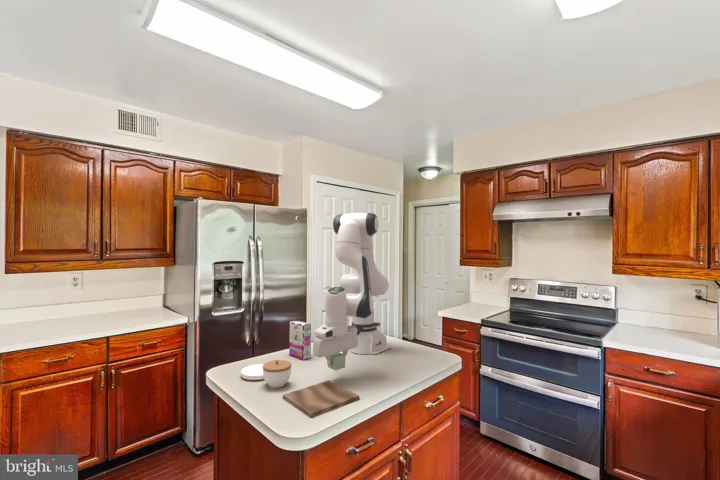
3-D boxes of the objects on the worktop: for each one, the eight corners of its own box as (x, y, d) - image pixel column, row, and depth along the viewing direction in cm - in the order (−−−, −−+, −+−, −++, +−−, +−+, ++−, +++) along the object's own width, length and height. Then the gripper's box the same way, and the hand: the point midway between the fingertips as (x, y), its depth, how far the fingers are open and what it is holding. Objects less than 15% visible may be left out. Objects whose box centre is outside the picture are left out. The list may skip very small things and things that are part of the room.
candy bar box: (311, 358, 165) (311, 323, 165) (303, 360, 161) (303, 325, 161) (297, 353, 173) (297, 319, 173) (288, 355, 169) (288, 321, 169)
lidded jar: (288, 377, 141) (289, 354, 141) (293, 388, 131) (293, 363, 131) (261, 381, 137) (261, 357, 137) (263, 392, 127) (263, 366, 127)
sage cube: (337, 364, 143) (337, 351, 143) (345, 367, 139) (345, 354, 139) (327, 367, 139) (327, 354, 139) (335, 370, 136) (335, 357, 136)
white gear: (256, 385, 134) (257, 378, 134) (233, 377, 142) (233, 371, 142) (283, 373, 146) (283, 367, 146) (260, 367, 153) (260, 361, 153)
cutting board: (329, 383, 135) (329, 380, 135) (359, 399, 122) (359, 395, 122) (282, 398, 122) (282, 394, 122) (310, 417, 108) (310, 413, 108)
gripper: (351, 322, 148) (351, 355, 148) (310, 331, 135) (310, 367, 135) (361, 325, 143) (361, 359, 143) (319, 334, 130) (320, 371, 130)
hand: (336, 363), depth 139 cm, fingers closed on sage cube, 5 cm apart
